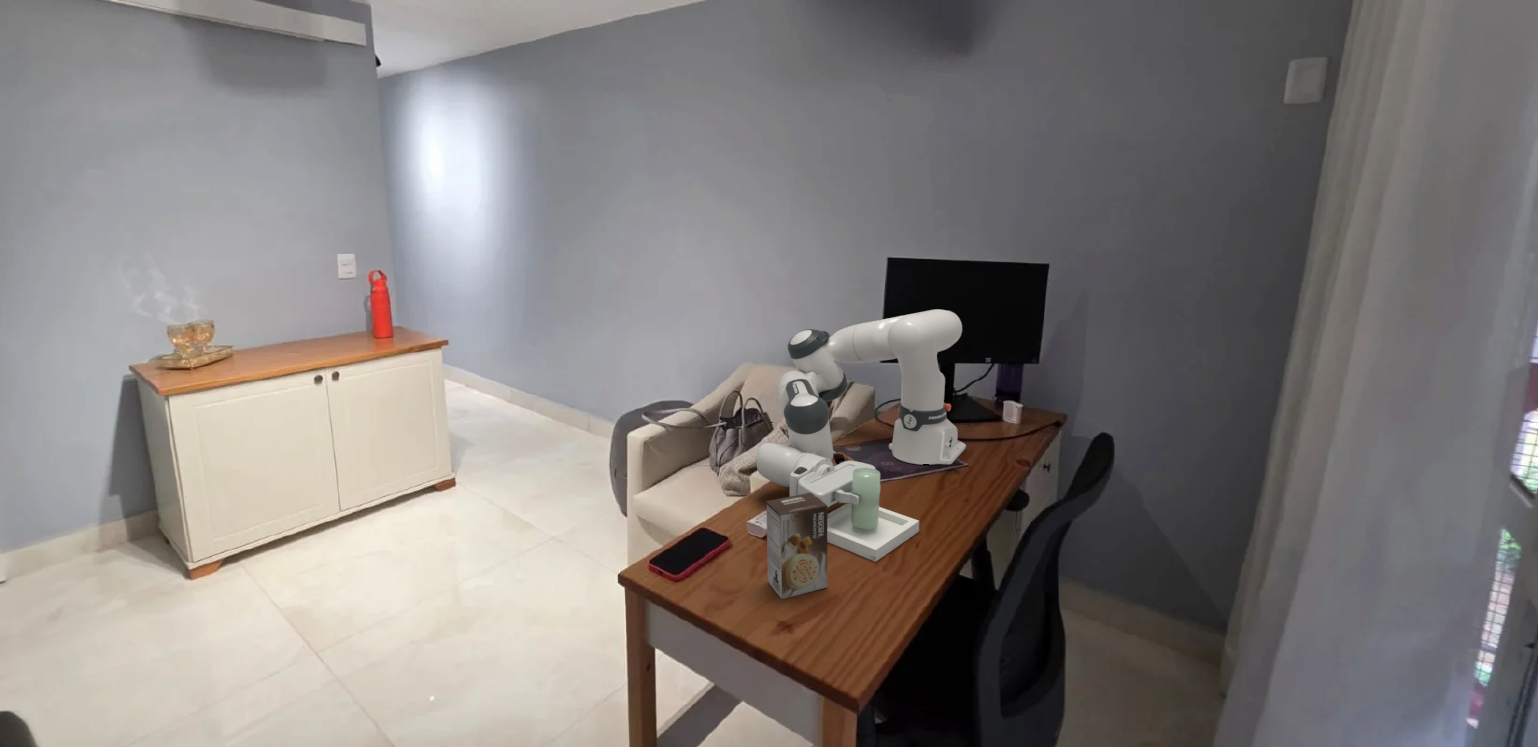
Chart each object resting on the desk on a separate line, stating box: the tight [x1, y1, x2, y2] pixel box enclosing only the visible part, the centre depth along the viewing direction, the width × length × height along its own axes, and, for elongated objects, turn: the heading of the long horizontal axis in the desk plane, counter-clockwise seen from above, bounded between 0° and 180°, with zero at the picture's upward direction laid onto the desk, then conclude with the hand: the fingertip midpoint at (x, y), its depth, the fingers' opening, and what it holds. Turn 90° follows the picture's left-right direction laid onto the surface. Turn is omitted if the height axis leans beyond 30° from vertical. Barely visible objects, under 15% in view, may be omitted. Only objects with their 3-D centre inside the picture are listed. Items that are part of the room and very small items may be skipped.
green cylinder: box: [851, 468, 881, 529], centre depth 136 cm, size 6×6×11 cm
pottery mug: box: [833, 450, 856, 465], centre depth 164 cm, size 12×10×8 cm
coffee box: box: [765, 493, 828, 600], centre depth 117 cm, size 9×6×16 cm
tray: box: [827, 503, 920, 562], centre depth 137 cm, size 16×16×2 cm
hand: (869, 494), depth 135 cm, fingers closed on green cylinder, 5 cm apart
